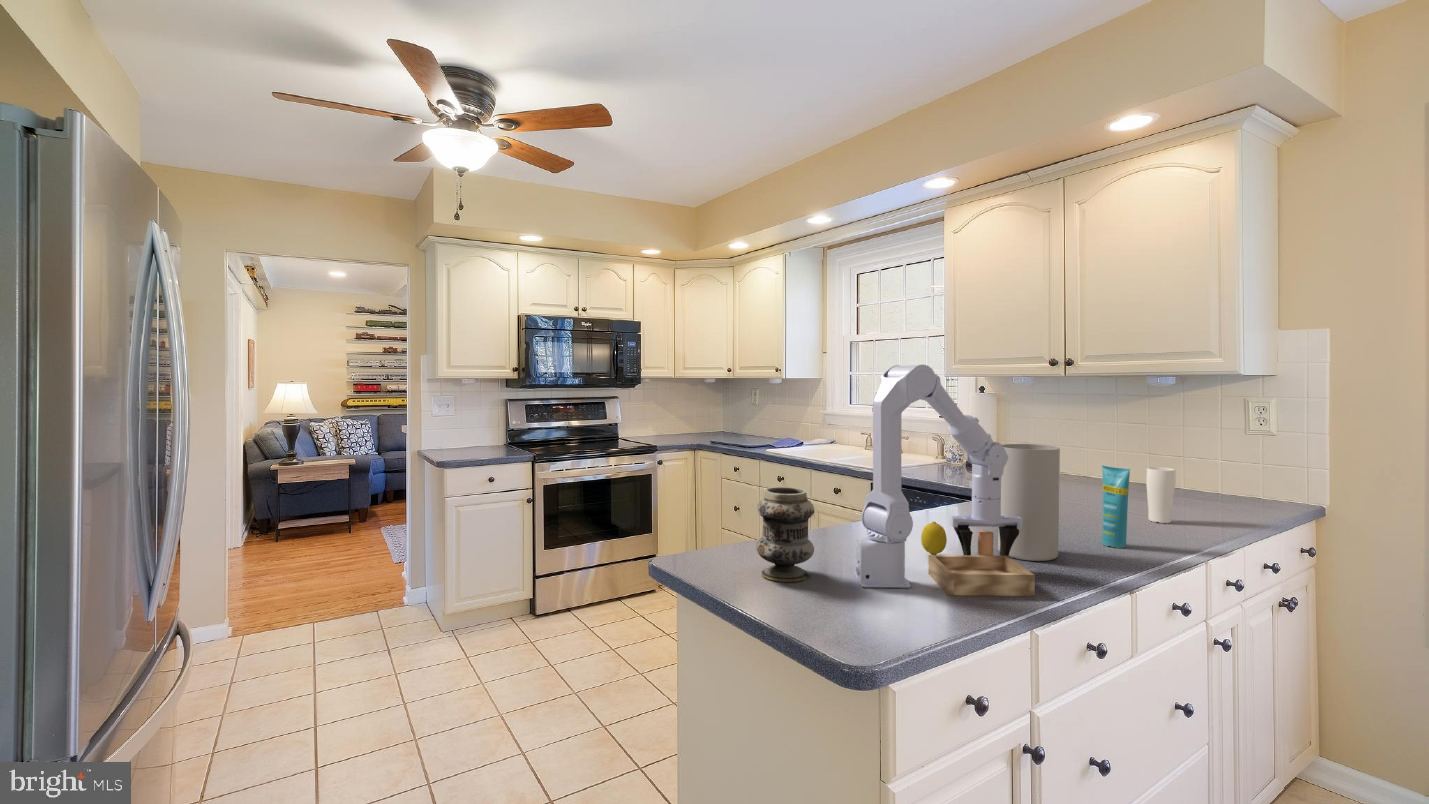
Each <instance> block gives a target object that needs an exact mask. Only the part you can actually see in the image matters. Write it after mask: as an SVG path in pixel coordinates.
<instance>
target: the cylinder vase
mask: <svg viewBox="0 0 1429 804" xmlns="http://www.w3.org/2000/svg"><path fill="white" fill-rule="evenodd" d="M1001 445H1002V446H1003V447H1004V448H1005V450H1006V454H1007V455H1008V461H1007V463H1006V465H1005V466H1004V470H1003V474H1002V477H1001V516H1013V517H1020V518H1022V519H1023V524H1022V528H1018V527H1017V529H1019V535H1018V536H1017V538H1016V539H1015V541H1014V543H1013V545H1012V547H1011V550H1010V553H1009V556H1008V557H1009V558H1011V559H1016V560H1020V561H1021V560H1022V561H1029V562H1046V561H1047V562H1049V561H1052V560H1055V559H1056V558H1058V556H1059V531H1060V530H1059V529H1060V528H1059V526H1060V525H1059V522H1060V518H1059V517H1060V467H1061V465H1060V464H1061V461H1060V460H1061V459H1060V455H1061V447H1060V446H1059V447H1058V446H1055V445H1048V444H1047V445H1046V444H1037V443H1036V444H1032V443H1005V444H1004V443H1003V444H1001ZM997 528H998V529H997V530H998V531H997V532H998V533H997V536H998V537H997V549H998V551H999V552H1000V533H999V527H997Z"/></svg>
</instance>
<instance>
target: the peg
mask: <svg viewBox="0 0 1429 804" xmlns="http://www.w3.org/2000/svg"><path fill="white" fill-rule="evenodd" d="M977 535H978V536H977V555H994V532H993V531H990V530H978V532H977Z"/></svg>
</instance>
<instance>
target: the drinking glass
mask: <svg viewBox="0 0 1429 804" xmlns="http://www.w3.org/2000/svg"><path fill="white" fill-rule="evenodd" d="M1145 472H1146V473H1145V487H1146V488H1145V489H1146V499H1147V501H1146V502H1147V510H1148V511H1147V512H1148V515H1147V517H1148V521H1149V520H1150V522H1151V521H1152V522H1151V523H1155V522H1159V523H1158V524H1163V523H1166V524H1170V523H1172V514H1173V505H1174V499H1175V498H1174V497H1175V490H1176V479H1177V478H1176V477H1177V475H1176V469H1175V468H1171V467H1162V466H1161V467H1160V466H1149V467H1146V471H1145Z"/></svg>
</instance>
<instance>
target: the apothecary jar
mask: <svg viewBox="0 0 1429 804" xmlns="http://www.w3.org/2000/svg"><path fill="white" fill-rule="evenodd" d="M756 509H757V513H758V514H759V516H760V517H762V536H761V538H759V540H758V541H757V543H756V545H755V546H756V549H755V550H756V553H757V554H758V555H759V557H761V558H762V559H763V560H765V561H766V562H768V563H771V564H774V565H770V566H769V567H765V568H764V569H763V570H762V571H761V576H762V577H763V578H764V579H766V580H769V581H771V582H772V581H773V582H780V583H797V582H802V581H804V580H807V577H809V576H810V574H809V572H808V571H807V570H806V569H803V568H802V567H800V566H798V565H799V564H803V563H804V562H806V561H808V560H809V559H810V558H811V557H812V556H813V555H814V552H815V546H814V544H813V543H812V541H811V540H810V539H809V519H810V518H812V516H813V515H814V513H815V507H814V504H813V502H811V501H810V500H809V499H808V494H807V491H806V489H804V488H801V487H795V486H794V487H793V486H772V487H768V488H766V489H765V494H764V496H763V498H762V499H761V500H760V501H759V502H758V504H757V507H756Z"/></svg>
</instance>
